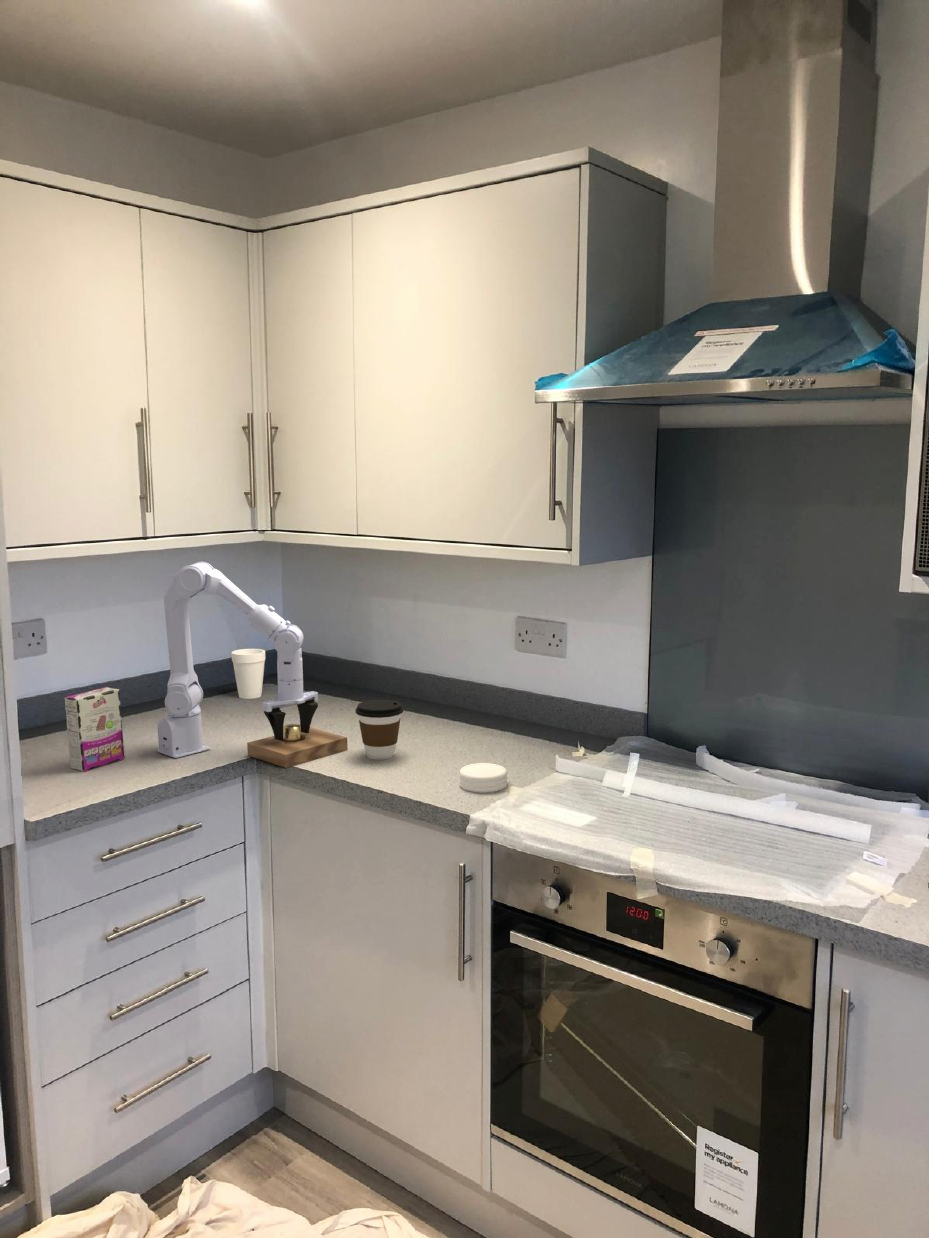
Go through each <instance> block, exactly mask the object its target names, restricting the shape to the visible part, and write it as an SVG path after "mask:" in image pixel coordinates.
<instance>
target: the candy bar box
mask: <svg viewBox="0 0 929 1238" xmlns="http://www.w3.org/2000/svg"><path fill="white" fill-rule="evenodd" d="M120 695H121V693H120V688H113V687H110V686H109V687H108V686H105V687H102V688H96V689H92V690H90V691H89V690H88V691H86V692H85V691H84V692H81V693H77V694H73V695H69V696H65V697H64V698H63V699H64V706H65V707H64V709H65V710H64V711H65V719H66V720H65V721H66V729H67V730H66V731H67V732H66V733H67V741H68V753H69V755H68V756H69V766H70V769H72V770H74V771H79V772H85V773H86V772H88V771H91V770H95V769H98V768H102V767H104V766H106V765H110V764H113V763H115V762H116V763H117V762H118V761H122V760H124V759H125V746H124V734H123V724H122V722H123V721H122V720H123V719H122V709H121V696H120Z"/></svg>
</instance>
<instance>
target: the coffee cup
mask: <svg viewBox="0 0 929 1238" xmlns="http://www.w3.org/2000/svg"><path fill="white" fill-rule="evenodd" d="M354 713H355V714H357V715H358V722H359V723H358V724H359V728H360V729H359V730H360V735H361V740H362V744H363V747H364V752H365V755H366V756H367V758H369V759H371V760H388V759H391V758H393V757H394V755H395V752H396V746H397V743H398V739H399V732H400V724H401V714H403V713H404V707H403V705H402V703H401V702H399V701H397V700H394V699H369V700H365V701H361V702H360V703H358V705H357V707H356V708H355V712H354Z"/></svg>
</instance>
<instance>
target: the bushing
mask: <svg viewBox="0 0 929 1238" xmlns="http://www.w3.org/2000/svg"><path fill="white" fill-rule="evenodd" d="M300 729H301V728H300V723H299V724H298V723H287V724H284V725H283V742H298V741H301V738H300Z"/></svg>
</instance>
